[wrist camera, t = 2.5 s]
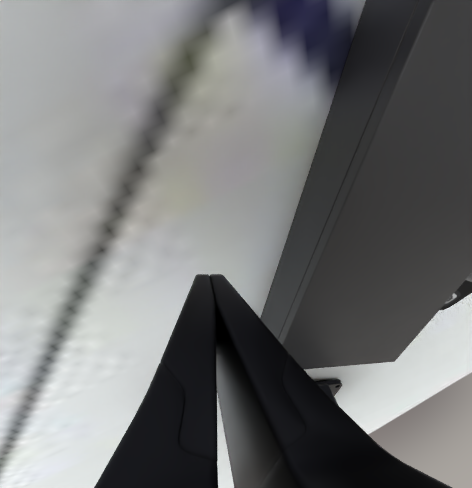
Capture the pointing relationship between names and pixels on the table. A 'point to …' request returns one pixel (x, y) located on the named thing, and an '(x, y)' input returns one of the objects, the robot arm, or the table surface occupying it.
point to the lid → (383, 192)
